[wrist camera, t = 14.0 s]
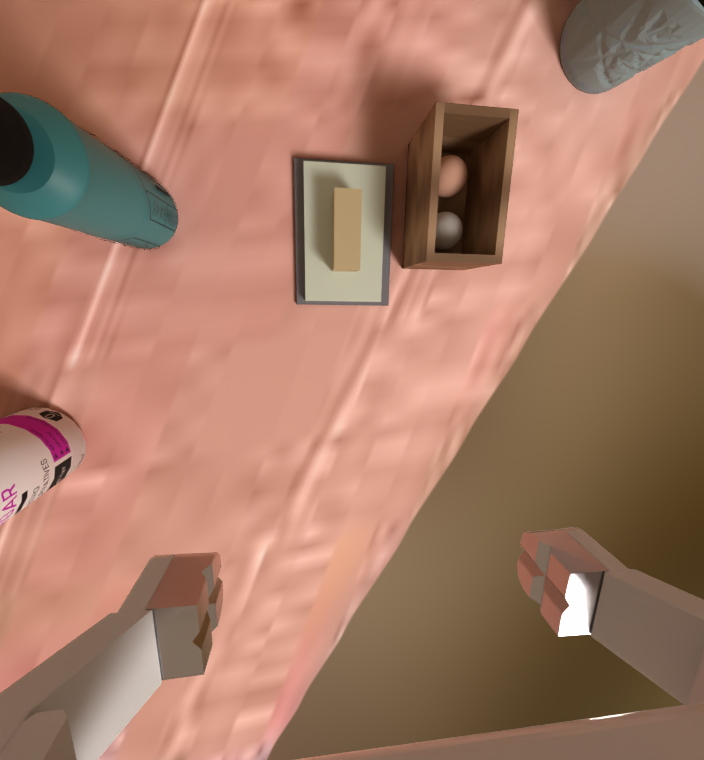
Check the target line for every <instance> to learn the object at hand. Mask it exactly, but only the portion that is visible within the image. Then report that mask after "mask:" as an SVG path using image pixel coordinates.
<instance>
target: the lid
mask: <svg viewBox="0 0 704 760" xmlns="http://www.w3.org/2000/svg"><path fill="white" fill-rule="evenodd" d="M385 178H386V166H376V165H360V164H345V163H330V162H314V161H304V230H305V301H348V302H381V289H382V261H383V234H384V206H385Z"/></svg>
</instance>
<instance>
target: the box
mask: <svg viewBox="0 0 704 760" xmlns="http://www.w3.org/2000/svg"><path fill="white" fill-rule="evenodd" d="M518 112H519V109H510V108H498V107H487V106H476V105H465V104H454V103H442V102H436V103H435V105H434V106H433V108H432V109H431V111H430V112H429V114H428V116H427V117H426V119H425V120H424V122H423V123H422V125H421V126H420V128H419V129H418V131H417V132H416V134H415V135H414V137H413V138H412V140H411V141H410V143H409V145H408V162H407V182H406V203H405V224H404V244H403V265H402V268H406V269H441V270H467V269H473V268H478V267H484V266H490V265H496V264H502V255H503V246H504V237H505V228H506V219H507V210H508V201H509V192H510V183H511V175H512V166H513V157H514V148H515V139H516V130H517V121H518ZM447 155H455V156H458V157H460V158H461V159H462V160H463V161H464V163H465V164H466V167H467V180H466V183H465V185H464V187H463V188H462V189H461V191H460V192H458V193H457V194H456V195H454V196H451V197H440V196H438V195H439V181H440V166H441V158H442V157H444V156H447ZM441 212H451V213H454V214H455V215H457V216H458V217H459V219H460V220H461V223H462V227H463V231H462V236H461V238H460V240H459V242H458V243H457V244H456V245H455V246H454V247H452V248H450V249H447V250H438V249H435V239H436V224H437V214H438V213H441Z"/></svg>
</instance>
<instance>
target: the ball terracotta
mask: <svg viewBox="0 0 704 760" xmlns="http://www.w3.org/2000/svg"><path fill="white" fill-rule="evenodd" d="M466 180H467V167H466V164H465V163H464V161H463V160H462V159H461V158H460V157H458V156H455V155H447V156H444V157H442V158H441V166H440V181H439V195H438V196H440V197H451V196H454V195H456V194H457V193H458V192H460V191H461V189H462V188H463V187H464V185H465V183H466Z"/></svg>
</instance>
